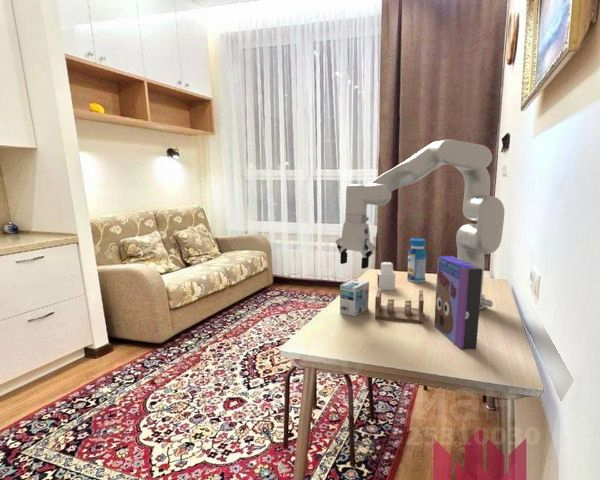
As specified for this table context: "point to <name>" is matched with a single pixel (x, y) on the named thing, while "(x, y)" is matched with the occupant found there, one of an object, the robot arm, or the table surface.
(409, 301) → the peg stand
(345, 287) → the light bulb box
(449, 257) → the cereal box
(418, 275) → the beverage bottle
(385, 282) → the medicine bottle
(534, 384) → the table surface
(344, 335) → the table surface
